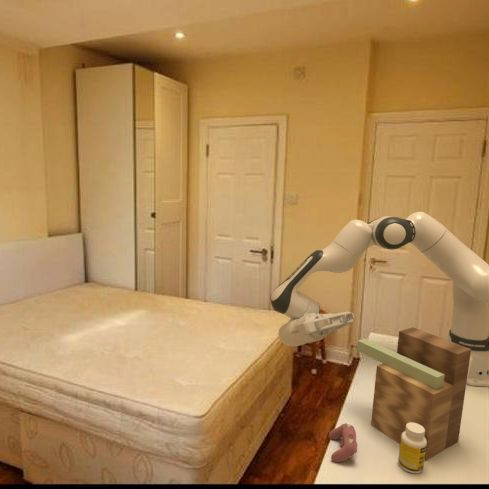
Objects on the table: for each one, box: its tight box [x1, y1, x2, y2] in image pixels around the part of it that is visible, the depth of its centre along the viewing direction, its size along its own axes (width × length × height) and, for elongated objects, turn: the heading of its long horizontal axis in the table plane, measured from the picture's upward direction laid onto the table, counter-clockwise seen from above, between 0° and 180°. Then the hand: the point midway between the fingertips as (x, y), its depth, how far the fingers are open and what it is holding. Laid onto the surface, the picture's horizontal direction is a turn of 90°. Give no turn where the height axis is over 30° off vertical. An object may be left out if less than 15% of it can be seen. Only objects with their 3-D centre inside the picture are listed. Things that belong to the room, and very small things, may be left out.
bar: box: [356, 338, 444, 389], centre depth 104 cm, size 24×3×3 cm, turn 33°
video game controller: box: [328, 422, 358, 463], centre depth 96 cm, size 10×5×7 cm, turn 172°
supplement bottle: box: [397, 422, 427, 474], centre depth 91 cm, size 5×5×10 cm
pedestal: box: [370, 327, 471, 462], centre depth 102 cm, size 16×14×25 cm
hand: (341, 318), depth 120 cm, fingers open, 8 cm apart
